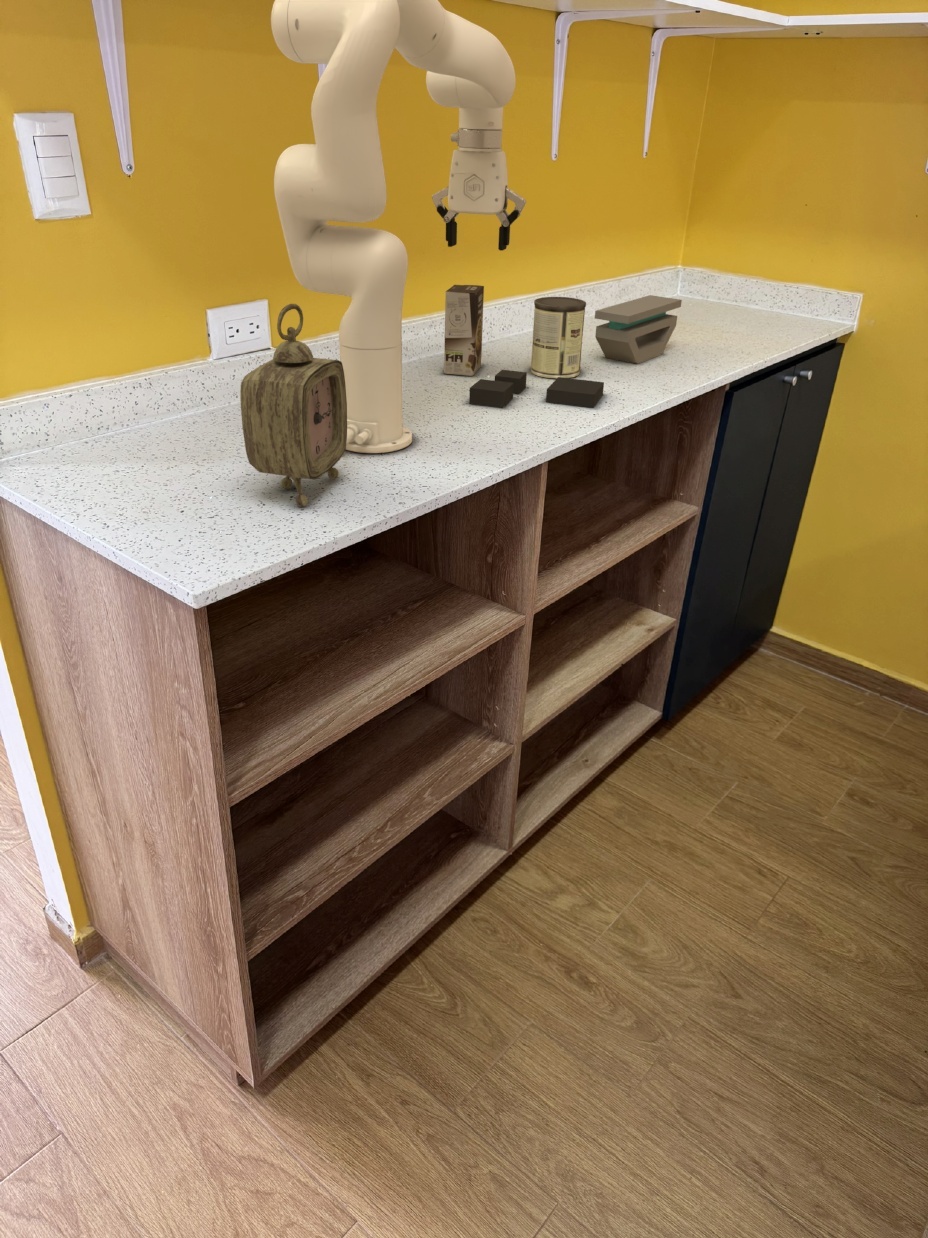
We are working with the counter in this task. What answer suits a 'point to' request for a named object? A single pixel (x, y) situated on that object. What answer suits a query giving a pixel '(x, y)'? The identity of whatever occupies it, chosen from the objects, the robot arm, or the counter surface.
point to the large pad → (575, 392)
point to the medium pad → (491, 393)
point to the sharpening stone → (636, 328)
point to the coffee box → (463, 329)
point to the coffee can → (557, 337)
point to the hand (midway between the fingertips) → (477, 247)
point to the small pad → (513, 379)
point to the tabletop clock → (295, 412)
